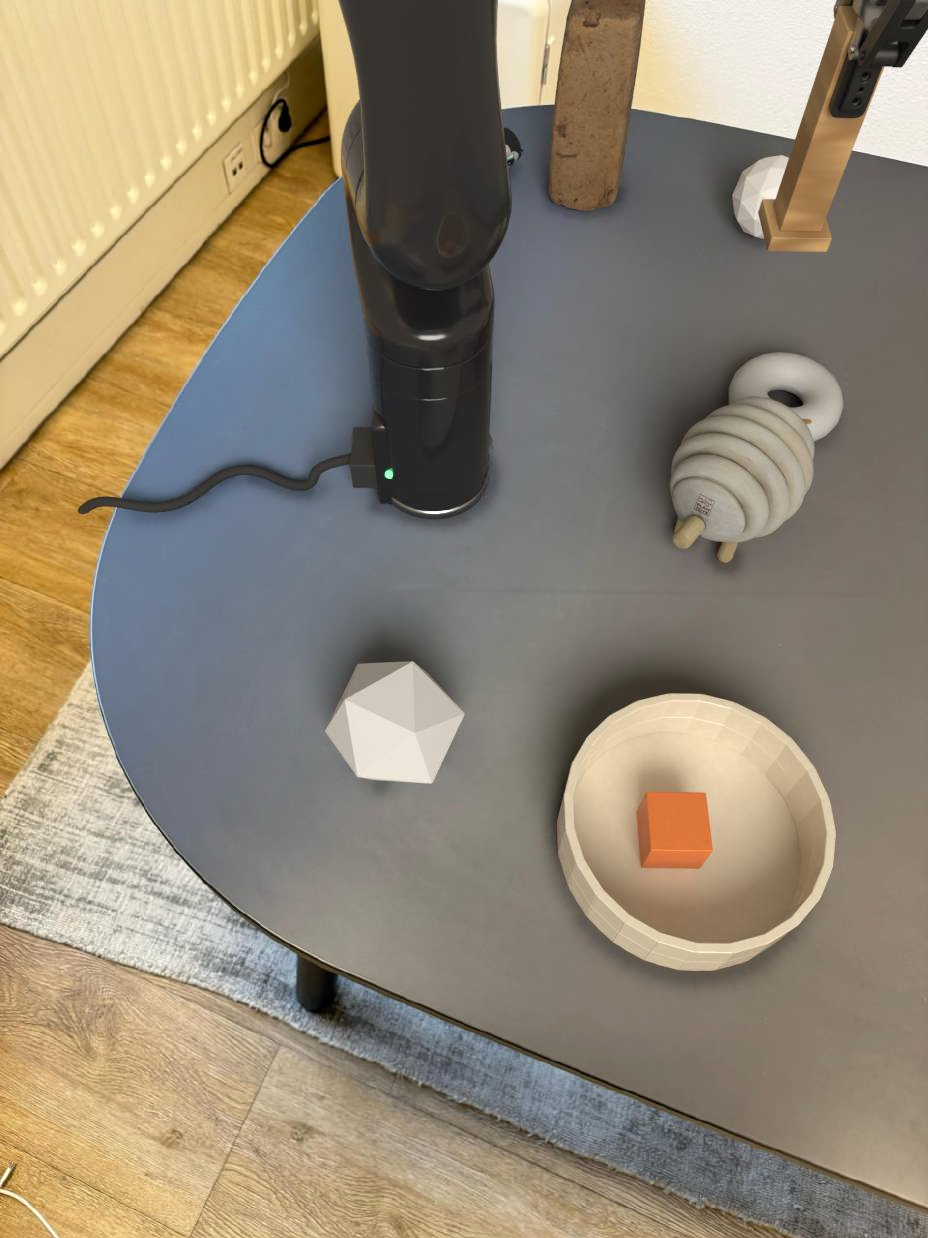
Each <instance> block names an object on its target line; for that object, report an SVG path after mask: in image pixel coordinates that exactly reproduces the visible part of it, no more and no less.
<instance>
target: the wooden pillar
mask: <svg viewBox="0 0 928 1238" xmlns="http://www.w3.org/2000/svg"><path fill="white" fill-rule="evenodd" d="M857 18H858V15H857V14H856V12H855V11H854V9H853V6H839V8H838V11H837V14H836V17H835V19H833V23H832V26H831V28H830V33H829V35H828V38H827V41H826V44H825V47H824V50H823V52H822V53H823V54H822V57H821V58H820V59H821V60H820V61H819V62H820V63H819V66H818V69H817V72H816V74H815V77H814V81H813V83H812V86H811V90H810V93H809V95H808V99H807V103H806V106H805V108H804V111H803V114H802V117H801V121H800V123H799V127H798V129H797V132H796V136H795V139H794V141H793V145H792V148H791V151H790V153H789V157H788V158H789V159H788V163H787V166H786V169H785V172H784V175H783V178H782V181H781V184H780V187H779V190H778V193H777V196H776V199H762V202H761V205H760V208H759V211H758V214H759V219H760V223H761V227H762V231H763V235H764V239H763V240H764V243H765V247H766V248H765V249H766V251H767V252H790V253H791V252H793V253H794V252H796V253H797V252H799V253H801V252H802V253H803V252H804V253H805V252H806V253H807V252H808V253H809V252H810V253H827V252H828V251H829V247H830V246H831V242H832V240H833V236H832V233H831V230H830V226H829V223H828V220H827V217H828V213H829V212H830V208H831V206H832V204H833V201H834V198H835V196H836V194H837V191H838V187H839V185H840V183H841V181H842V178H843V175H844V172H845V169H846V167H847V165H848V162H849V160H850V157H851V154H852V152H853V149H854V146H855V144H856V141H857V139H858V137H859V134H860V131H861V129H862V126H863V124H864V121H865V119H866V116H867V113H868V111H869V108H870V106H871V103H872V101H873V97H874V95H875V92H876V90H877V87H878V85H879V83H880V80H881V77H882V74H883V72H884V69H885V67H882V70H881V72H880V75H879V77H878V80H877V83H876V85H875V88H874V90H873V93H872V96H871V98H870V101H869V103H868V106H867V109H866V111H865V113H864V114H863V115H862V116H860V117H858V118H834V117H833V116H832V115H831V113H830V109H829V103H830V100H831V98H832V95H833V92H834V89H835V86H836V83H837V80H838V78H839V75H840V72H841V69H842V66H843V63H844V60H845V58H846V55H847V53H848V48H849V45H850V43H851V39H852V36H853V32H854V29H855V25H856V22H857ZM877 20H878V19H876V20H874V21H873V22H872V23H871V26H870V29H869V33H870V31H871V30H872V28H873V26H874V25H875V23H876V21H877ZM869 33H868V35H869Z"/></svg>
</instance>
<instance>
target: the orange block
mask: <svg viewBox="0 0 928 1238" xmlns="http://www.w3.org/2000/svg"><path fill="white" fill-rule="evenodd" d="M637 823H638V835H639V848H640V860H641V868H681V869H700V867H701V866H702V865H703V863H704V862H705V861H706V859H707V858H708V857H709V855H710V854H711V853H712V851H713V848H712V840H711V831H710V823H709V815H708V806H707V798H706V793H701V792H646V793H645V795H644V797H643V800H642V802H641V804H640V806H639V808H638V810H637Z"/></svg>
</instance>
